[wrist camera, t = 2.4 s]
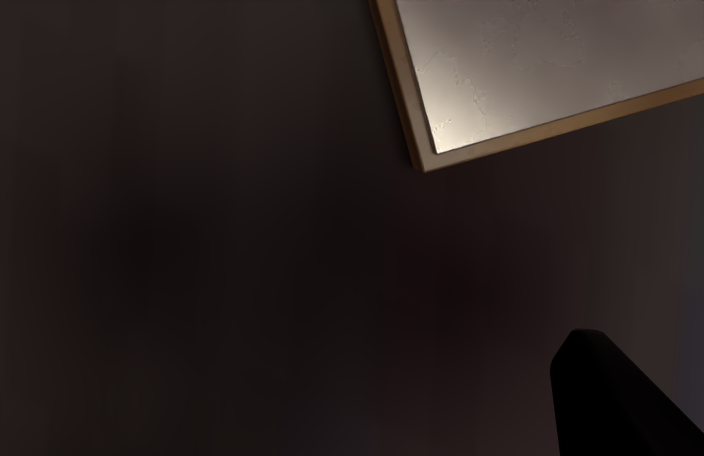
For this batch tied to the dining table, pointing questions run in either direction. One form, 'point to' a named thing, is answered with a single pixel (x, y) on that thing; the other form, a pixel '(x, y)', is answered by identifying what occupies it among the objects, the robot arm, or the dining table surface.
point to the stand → (530, 68)
